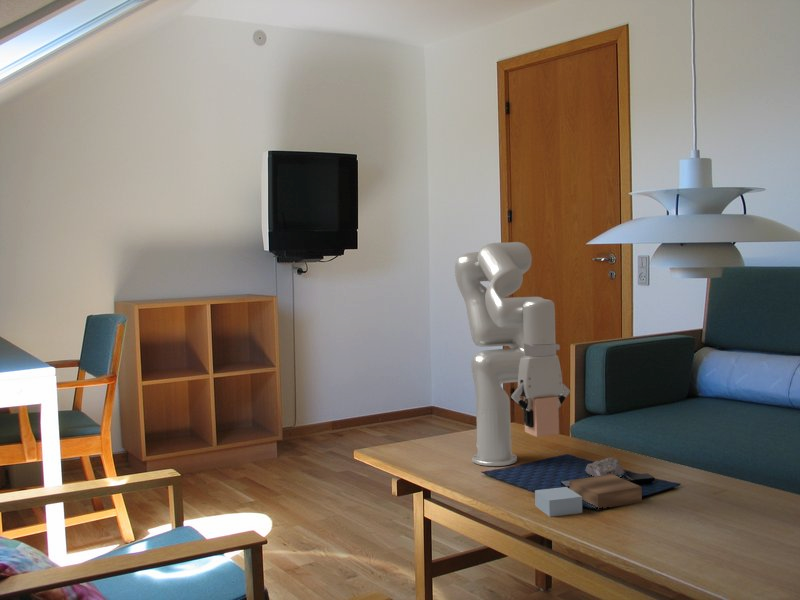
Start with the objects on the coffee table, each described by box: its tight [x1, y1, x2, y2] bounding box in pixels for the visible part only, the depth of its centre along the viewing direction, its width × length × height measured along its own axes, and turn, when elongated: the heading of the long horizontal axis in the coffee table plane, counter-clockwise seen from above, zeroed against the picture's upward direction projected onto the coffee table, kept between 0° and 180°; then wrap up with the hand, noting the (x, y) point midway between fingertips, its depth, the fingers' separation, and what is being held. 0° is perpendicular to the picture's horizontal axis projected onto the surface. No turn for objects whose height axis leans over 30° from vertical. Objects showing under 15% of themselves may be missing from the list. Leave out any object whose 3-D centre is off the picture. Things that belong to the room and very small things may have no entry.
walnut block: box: [568, 474, 643, 510], centre depth 192 cm, size 12×12×4 cm
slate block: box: [534, 486, 583, 518], centre depth 185 cm, size 8×8×4 cm
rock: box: [584, 457, 626, 477], centre depth 212 cm, size 9×11×4 cm
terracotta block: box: [524, 396, 560, 438], centre depth 195 cm, size 6×6×9 cm
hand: (541, 424), depth 195 cm, fingers closed on terracotta block, 6 cm apart
